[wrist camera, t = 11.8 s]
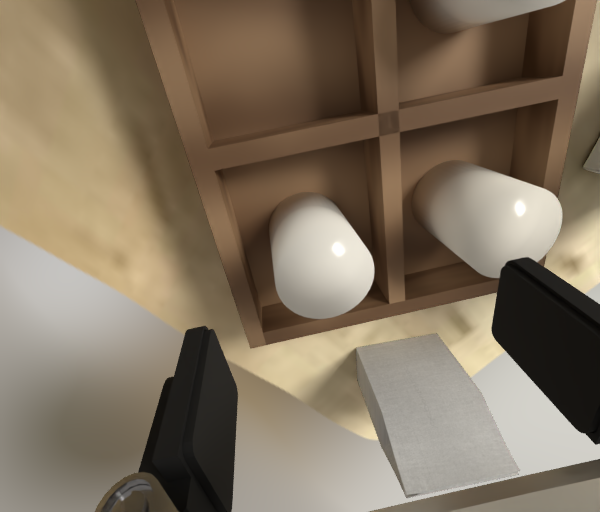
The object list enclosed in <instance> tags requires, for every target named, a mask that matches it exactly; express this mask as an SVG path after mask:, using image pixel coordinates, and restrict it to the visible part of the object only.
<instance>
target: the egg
mask: <svg viewBox="0 0 600 512" xmlns="http://www.w3.org/2000/svg"><path fill="white" fill-rule="evenodd" d="M269 236H270V244H271V253H272V261H273V270H274V278H275V286H276V290H277V293H278V296H279V298H280V299H281V301H282V302H283V304H284V305H285V306H286V307H287V308H289V309H290V310H291V311H293V312H294V313H296V314H298V315H301V316H303V317H307V318H313V319H326V318H332V317H336V316H339V315H341V314H344V313H346V312H348V311H349V310H351V309H352V308H354V307H355V306H356V305H358V304H359V303H360V302H361V301H362V300H363V299H364V297H365V296H366V295H367V293H368V291H369V290H370V288H371V285H372V283H373V279H374V262H373V259H372V256H371V254H370V252H369V250H368V249H367V248H366V246H365V245H364V243H363V242H362V241H361V239H360V238H359V236H358V235H357V234H356V232H355V231H354V229H353V228H352V227H351V225H350V224H349V222H348V221H347V220H346V218H345V217H344V215H343V214H342V212H341V211H340V210H339V208H338V207H337V205H336V204H335V203H334V202H333V201H332V200H331V199H329V198H328V197H326V196H324V195H322V194H319V193H315V192H301V193H297V194H294V195H292V196H289V197H288V198H286V199H285V200H283V201H282V202H281V203H280V204H279V205H278V206H277V207H276V209H275V210H274V212H273V214H272V216H271V218H270V222H269Z"/></svg>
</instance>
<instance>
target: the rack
mask: <svg viewBox="0 0 600 512" xmlns="http://www.w3.org/2000/svg"><path fill="white" fill-rule="evenodd" d="M135 1H136V4H137V7H138V10H139V13H140V16H141V19H142V22H143V25H144V28H145V31H146V34H147V37H148V40H149V43H150V46H151V49H152V52H153V55H154V58H155V61H156V64H157V67H158V70H159V73H160V76H161V79H162V82H163V85H164V88H165V91H166V94H167V97H168V100H169V103H170V106H171V110H172V113H173V116H174V119H175V122H176V125H177V128H178V131H179V134H180V137H181V140H182V143H183V146H184V149H185V152H186V155H187V158H188V161H189V164H190V167H191V170H192V173H193V176H194V179H195V182H196V185H197V188H198V191H199V194H200V197H201V200H202V203H203V206H204V209H205V212H206V215H207V218H208V221H209V224H210V227H211V230H212V233H213V236H214V239H215V243H216V246H217V249H218V252H219V255H220V258H221V261H222V264H223V267H224V270H225V273H226V276H227V279H228V282H229V285H230V288H231V291H232V294H233V297H234V300H235V303H236V306H237V309H238V312H239V315H240V318H241V321H242V324H243V327H244V330H245V333H246V336H247V339H248V342H249V345H250V348H255V347H259V346H264V345H268V344H273V343H277V342H281V341H286V340H290V339H295V338H299V337H303V336H308V335H312V334H316V333H321V332H325V331H330V330H334V329H338V328H343V327H347V326H352V325H356V324H360V323H365V322H369V321H373V320H378V319H382V318H387V317H391V316H395V315H400V314H404V313H409V312H413V311H417V310H422V309H426V308H431V307H435V306H439V305H444V304H448V303H452V302H457V301H461V300H466V299H470V298H474V297H479V296H483V295H488V294H492V293H496V292H497V291H498V285H499V278H491V277H486V276H484V275H482V274H480V273H478V272H477V271H476V270H475V269H473V268H472V267H471V266H470V265H468V264H467V263H466V262H465V261H464V260H462V259H461V258H460V257H459V256H457V255H456V254H455V253H454V252H453V251H451V250H450V249H449V248H448V247H446V246H445V245H444V244H443V243H442V242H440V241H439V240H438V239H437V238H435V237H434V236H433V235H432V234H431V233H429V232H428V231H427V230H426V229H424V228H423V227H422V226H421V225H420V224H419V223H418V222H417V221H416V219H415V217H414V215H413V212H412V197H413V193H414V190H415V188H416V186H417V184H418V182H419V181H420V180H421V178H422V177H423V176H424V175H425V174H426V173H427V172H428V171H429V170H430V169H431V168H433V167H434V166H436V165H438V164H440V163H442V162H445V161H449V160H462V161H466V162H469V163H472V164H474V165H477V166H480V167H483V168H486V169H489V170H492V171H495V172H498V173H500V174H503V175H506V176H509V177H512V178H515V179H518V180H521V181H523V182H526V183H529V184H532V185H535V186H538V187H541V188H544V189H546V190H548V191H550V192H551V193H553V194H554V195H555V196H556V197H557V199H558V194H559V189H560V184H561V179H562V174H563V169H564V164H565V159H566V154H567V148H568V143H569V138H570V133H571V128H572V123H573V118H574V113H575V108H576V103H577V98H578V93H579V88H580V83H581V78H582V73H583V68H584V63H585V58H586V53H587V48H588V43H589V38H590V33H591V28H592V23H593V18H594V13H595V8H596V3H597V0H565V1H564V2H561V3H559V4H557V5H554V6H550V7H547V8H543V9H539V10H535V11H532V12H528V13H524V14H521V15H517V16H513V17H510V18H506V19H502V20H499V21H495V22H491V23H488V24H484V25H480V26H477V27H473V28H469V29H466V30H462V31H458V32H455V33H448V34H444V33H438V32H434V31H432V30H430V29H428V28H427V27H425V26H424V25H423V24H422V23H421V22H420V20H419V19H418V18H417V16H416V15H415V13H414V11H413V9H412V6H411V3H410V0H135ZM301 192H315V193H319V194H322V195H324V196H326V197H328V198H329V199H331V200H332V201H333V202H334V203H335V204H336V205H337V207H338V208H339V210H340V211H341V212H342V214H343V215H344V217H345V218H346V220H347V221H348V222H349V224H350V225H351V227H352V228H353V229H354V231H355V232H356V234H357V235H358V236H359V238H360V239H361V241H362V242H363V243H364V245H365V246H366V248H367V249H368V250H369V252H370V254H371V256H372V259H373V262H374V279H373V283H372V285H371V288H370V290H369V291H368V293H367V295H366V296H365V297H364V299H363V300H362V301H361V302H360V303H359V304H358V305H356V306H355V307H354V308H352V309H351V310H349V311H348V312H346V313H344V314H341V315H339V316H336V317H332V318H326V319H313V318H307V317H303V316H301V315H298V314H296V313H294V312H293V311H291V310H290V309H289V308H287V307H286V306H285V305H284V304H283V302H282V301H281V299H280V298H279V296H278V293H277V290H276V286H275V278H274V270H273V261H272V253H271V244H270V236H269V222H270V218H271V216H272V214H273V212H274V210H275V209H276V207H277V206H278V205H279V204H280V203H281V202H282V201H283V200H285V199H286V198H288V197H289V196H292V195H294V194H297V193H301ZM546 254H547V253H546ZM545 259H546V255H545V256H544V257H543V258H542V259H541V260H539V261H538V262H537V263H539V264H540V265H542V266H543V267H544V264H545Z"/></svg>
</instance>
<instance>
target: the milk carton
mask: <svg viewBox="0 0 600 512" xmlns="http://www.w3.org/2000/svg"><path fill="white" fill-rule="evenodd" d="M356 361H357V381H358V383H359V386H360V389H361V392H362V395H363V397H364V400H365V403H366V406H367V408H368V411H369V414H370V417H371V419H372V422H373V425H374V428H375V431H376V433H377V436H378V439H379V442H380V444H381V447H382V449H383V451H384V452H385V455H386V457H387V458H388V460H389V462H390V464H391V466H392V468H393V470H394V472H395V474H396V476H397V478H398V480H399V482H400V485H401V487H402V489H403V491H404V494H405V496H406V498H410V497H414V496H419V495H424V494H429V493H433V492H438V491H442V490H448V489H452V488H457V487H462V486H466V485H471V484H476V483H481V482H485V481H490V480H494V479H500V478H505V477H509V476H514V475H518V471H520V469H519V468H518V466H517V464H516V463H515V461H514V459H513V458H512V456H511V454H510V452H509V450H508V448H507V446H506V444H505V442H504V440H503V438H502V436H501V434H500V431H499V429H498V427H497V425H496V423H495V421H494V419H493V416H492V414H491V412H490V410H489V408H488V406H487V404H486V401H485V399H484V397H483V395H482V393H481V392H480V390H479V389H478V387H477V386H476V385H475V383H474V382H473V381H472V379H471V378H470V377H469V375H468V374H467V373H466V371H465V370H464V369H463V367H462V366H461V365H460V363H459V362H458V361H457V359H456V358H455V357H454V355H453V354H452V353H451V351H450V350H449V349H448V347H447V346H446V345H445V343H444V342H443V341H442V339H441V338H440V337H439V335H438V334H437V333H435V334H429V335H424V336H418V337H413V338H407V339H401V340H396V341H390V342H385V343H379V344H373V345H368V346H362V347H357V348H356Z"/></svg>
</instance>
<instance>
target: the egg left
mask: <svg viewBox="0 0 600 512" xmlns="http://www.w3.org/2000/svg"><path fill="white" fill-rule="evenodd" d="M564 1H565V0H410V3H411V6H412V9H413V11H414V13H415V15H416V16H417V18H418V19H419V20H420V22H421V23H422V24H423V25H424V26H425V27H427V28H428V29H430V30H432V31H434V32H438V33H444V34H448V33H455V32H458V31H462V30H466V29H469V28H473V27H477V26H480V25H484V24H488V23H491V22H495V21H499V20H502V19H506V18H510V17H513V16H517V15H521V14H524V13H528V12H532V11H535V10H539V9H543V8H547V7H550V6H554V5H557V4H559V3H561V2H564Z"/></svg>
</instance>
